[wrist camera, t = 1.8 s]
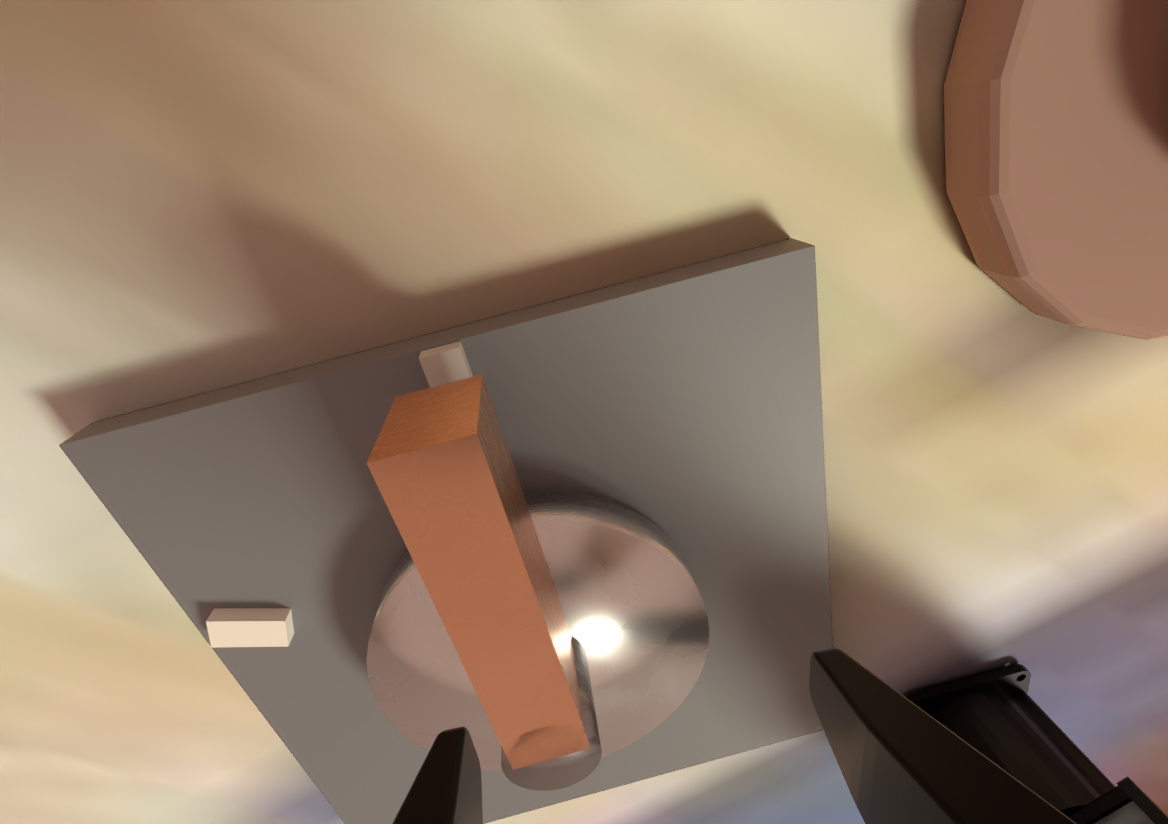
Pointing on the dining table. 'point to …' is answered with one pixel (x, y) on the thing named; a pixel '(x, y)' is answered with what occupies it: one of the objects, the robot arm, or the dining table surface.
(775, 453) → the panel
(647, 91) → the dining table surface
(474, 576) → the dial
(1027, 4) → the wooden pedestal stand
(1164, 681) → the dining table surface
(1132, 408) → the dining table surface
